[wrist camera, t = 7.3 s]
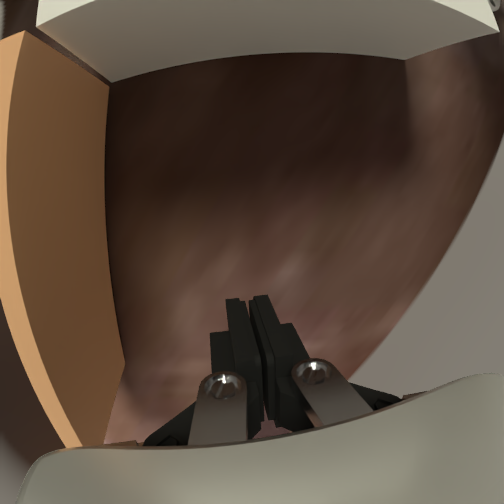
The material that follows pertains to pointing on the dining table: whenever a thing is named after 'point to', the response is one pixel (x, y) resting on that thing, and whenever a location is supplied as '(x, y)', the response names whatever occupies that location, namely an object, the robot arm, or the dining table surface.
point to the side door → (57, 236)
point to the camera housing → (253, 29)
